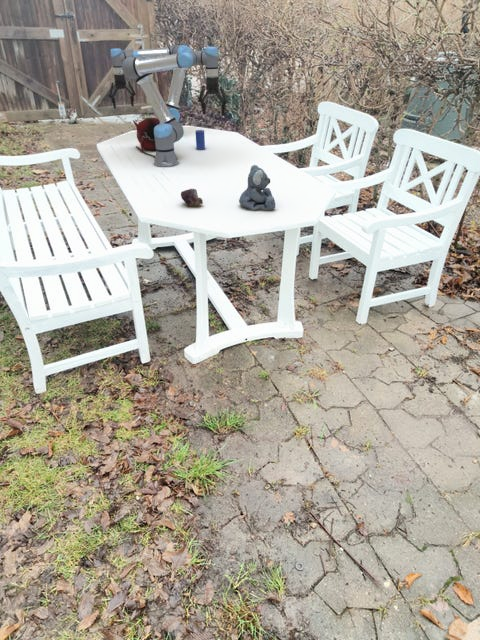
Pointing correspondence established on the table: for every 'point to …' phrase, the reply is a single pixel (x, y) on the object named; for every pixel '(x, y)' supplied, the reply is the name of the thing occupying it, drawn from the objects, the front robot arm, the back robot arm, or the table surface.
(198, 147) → the can
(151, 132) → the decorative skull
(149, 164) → the table surface
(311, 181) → the table surface
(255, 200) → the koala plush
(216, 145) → the table surface
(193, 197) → the rock
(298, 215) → the table surface
